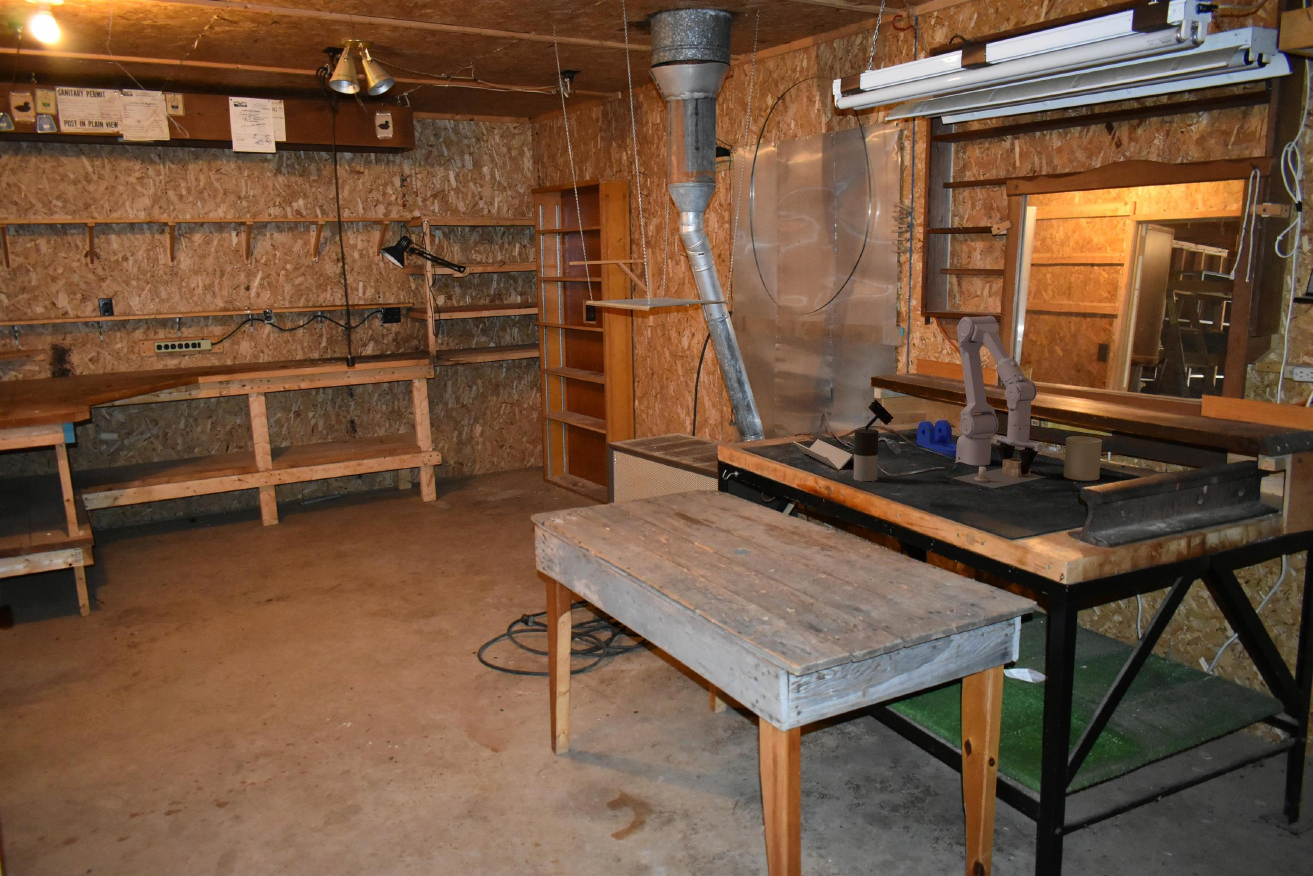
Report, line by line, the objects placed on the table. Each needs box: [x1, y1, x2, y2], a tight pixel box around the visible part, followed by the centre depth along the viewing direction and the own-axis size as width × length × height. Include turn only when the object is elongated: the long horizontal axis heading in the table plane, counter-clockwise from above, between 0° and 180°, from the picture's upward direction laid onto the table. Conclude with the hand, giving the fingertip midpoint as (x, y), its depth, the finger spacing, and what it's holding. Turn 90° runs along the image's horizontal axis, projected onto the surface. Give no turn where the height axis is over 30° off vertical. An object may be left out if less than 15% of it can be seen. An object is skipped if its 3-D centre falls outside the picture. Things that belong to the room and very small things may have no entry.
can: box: [1063, 435, 1103, 482], centre depth 254 cm, size 9×9×12 cm
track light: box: [853, 399, 894, 482], centre depth 259 cm, size 6×17×20 cm
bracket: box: [916, 419, 957, 457], centre depth 295 cm, size 18×8×9 cm, turn 17°
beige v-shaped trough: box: [792, 438, 854, 471], centre depth 284 cm, size 12×25×6 cm
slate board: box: [951, 461, 1046, 493], centre depth 255 cm, size 14×22×5 cm, turn 121°
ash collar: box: [1001, 457, 1031, 477], centre depth 258 cm, size 5×5×4 cm
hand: (1016, 472), depth 259 cm, fingers closed on ash collar, 5 cm apart
